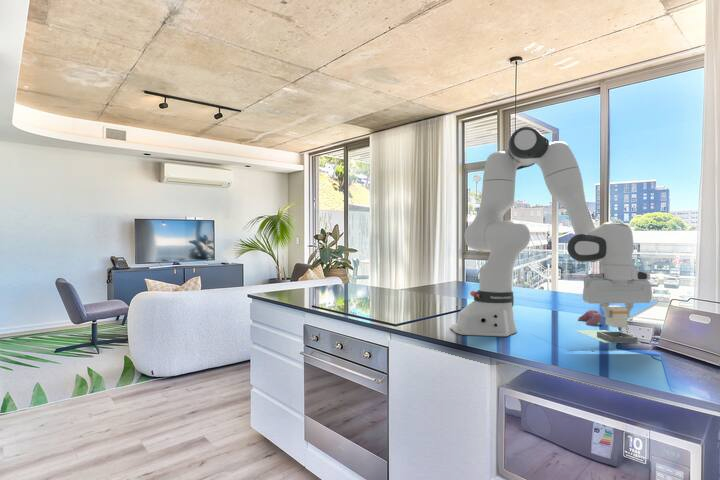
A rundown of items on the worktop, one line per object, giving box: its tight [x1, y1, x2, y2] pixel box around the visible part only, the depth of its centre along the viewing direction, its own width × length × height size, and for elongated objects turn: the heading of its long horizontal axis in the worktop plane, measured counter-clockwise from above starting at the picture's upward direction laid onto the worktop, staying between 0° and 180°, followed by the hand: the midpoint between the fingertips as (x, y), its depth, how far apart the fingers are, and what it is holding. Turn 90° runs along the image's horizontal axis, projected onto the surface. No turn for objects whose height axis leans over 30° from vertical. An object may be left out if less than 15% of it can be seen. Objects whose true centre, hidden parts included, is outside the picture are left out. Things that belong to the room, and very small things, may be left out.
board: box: [574, 329, 641, 344], centre depth 132 cm, size 11×17×2 cm, turn 1°
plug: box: [605, 305, 629, 328], centre depth 129 cm, size 4×4×6 cm
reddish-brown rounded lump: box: [577, 309, 603, 326], centre depth 154 cm, size 10×5×7 cm, turn 170°
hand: (616, 317), depth 128 cm, fingers closed on plug, 4 cm apart
